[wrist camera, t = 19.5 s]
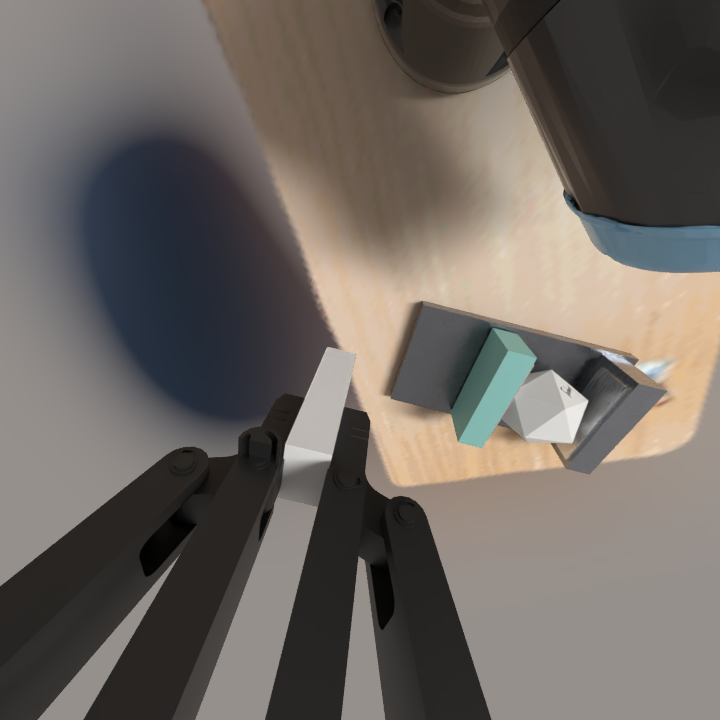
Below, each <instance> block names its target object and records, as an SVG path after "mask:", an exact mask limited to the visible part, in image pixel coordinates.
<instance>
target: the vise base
mask: <svg viewBox="0 0 720 720" xmlns="http://www.w3.org/2000/svg"><path fill="white" fill-rule="evenodd" d="M492 328H496V329H500V330H504V331H507V332H511V333H515V334H518V335H519V337H520V338H521V339H522V340H523V341H524V343H525V344H526V345H527V346H528V348H529V349H530V350H531V351H532V352H533V354H534V355H535V356H536V357H537V359H536V361H535V362H534V367H533V368H532V370H531V372H530V373H535V372H541V371H546V370H553V371H554V372H555V373H556V374H557V375H559V376H560V377H561V378H562V379H563V380H565V381H566V382H567V383H568V384H569V385H571V386H572V387H573V388H574V389H575V390H576V391H578V392H579V393H580V394H581V395H582V396H584V397H585V398H586V399H587V400H588V403H587V406H586V409H585V411H584V414H583V416H582V419H581V422H580V424H579V427H578V430H577V432H576V435H575V438H574V440H573V443H551V445H552V446H553V448H554V450H555V451H556V453H557V455H558V456H559V458H560V460H561V461H562V463H563V465H564V466H565V468H566V469H570V470H574V471H578V472H582V473H586V474H590V473H591V472H592V471H593V470H594V469H595V468H596V467H597V466H598V465H599V464H600V463H601V461H602V460H603V459H604V458H605V457H606V456H607V455H608V454H609V453H610V452H611V451H612V450H613V449H614V448H615V446H616V445H617V444H618V443H619V442H620V441H621V440H622V439H623V438H624V437H625V436H626V435H627V434H628V433H629V432H630V430H631V429H632V428H633V427H634V426H635V425H636V424H637V423H638V422H639V421H640V420H641V419H642V418H643V417H644V416H645V414H646V413H647V412H648V411H649V410H650V409H651V408H652V407H653V406H654V405H655V404H656V403H657V402H658V401H659V399H660V398H661V397H662V396H663V395H664V394H665V393H666V392H667V390H665V389H664V388H663V387H661V386H660V385H659V384H658V383H656V382H655V381H654V380H652V379H651V378H650V377H648V376H647V375H646V374H644V373H643V372H642V371H640V370H639V369H638V368H636V367H635V366H634V365H635V364H636V363H637V362H638V360H639V359H637V358H636V357H634V356H633V355H632V354H630V353H626V352H622V351H618V350H614V349H610V348H606V347H602V346H599V345H595V344H591V343H587V342H583V341H579V340H575V339H571V338H567V337H563V336H559V335H555V334H551V333H547V332H544V331H540V330H536V329H532V328H528V327H524V326H520V325H516V324H512V323H508V322H504V321H500V320H496V319H492V318H488V317H485V316H481V315H477V314H473V313H469V312H465V311H461V310H457V309H453V308H449V307H445V306H441V305H437V304H433V303H429V302H426V301H423V302H422V305H421V308H420V311H419V314H418V316H417V319H416V322H415V325H414V328H413V331H412V334H411V337H410V339H409V342H408V345H407V348H406V351H405V354H404V357H403V360H402V363H401V365H400V368H399V371H398V374H397V377H396V380H395V383H394V386H393V389H392V391H391V399H394V400H398V401H402V402H406V403H410V404H414V405H418V406H422V407H426V408H430V409H434V410H438V411H442V412H446V413H450V414H451V410H452V408H453V406H454V404H455V402H456V400H457V398H458V396H459V394H460V392H461V390H462V388H463V386H464V384H465V382H466V380H467V378H468V376H469V374H470V372H471V370H472V368H473V366H474V364H475V362H476V360H477V358H478V356H479V354H480V352H481V350H482V348H483V346H484V344H485V342H486V340H487V338H488V336H489V334H490V332H491V330H492ZM498 425H499V426H503V427H507V428H511V427H510V426H509V425H507V424H506V423H505V422H504V421H503V420H502V419H501V420H500V422H499V423H498ZM511 429H512V428H511Z"/></svg>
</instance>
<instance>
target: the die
mask: <svg viewBox="0 0 720 720" xmlns="http://www.w3.org/2000/svg"><path fill="white" fill-rule="evenodd" d="M587 403H588V400H587V399H586V398H585V397H584V396H582V395H581V394H580V393H579V392H578V391H576V390H575V389H574V388H573V387H572V386H571V385H569V384H568V383H567V382H566V381H565V380H563V379H562V378H561V377H560V376H559V375H557V374H556V373H555V372H554V371H553V370H546V371H541V372H535V373H529V375H528V376H527V378H526V380H525V381H524V383H523V384H522V386H521V388H520V389H519V391H518V393H517V394H516V396H515V397H514V399H513V401H512V402H511V404H510V406H509V407H508V409H507V410H506V412H505V414H504V415H503V417H502V418H501V419H502V420H503V421H504V422H505V423H506V424H507V425H509V426H510V427H511V428H512V429H513V430H514V431H515V432H516V433H518V434H519V435H520V436H521V437H522V438H523V439H524V440H525V441H527V442H534V443H573V440H574V438H575V435H576V432H577V430H578V427H579V424H580V422H581V419H582V416H583V414H584V411H585V409H586V406H587Z"/></svg>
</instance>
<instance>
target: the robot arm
mask: <svg viewBox="0 0 720 720" xmlns="http://www.w3.org/2000/svg"><path fill="white" fill-rule="evenodd" d="M373 5H374V11H375V15H376V19H377V23H378V26H379V29H380V32H381V35H382V37H383V39H384V42H385V44H386V46H387V48H388V50H389V52H390V53H391V55H392V56H393V58H394V59H395V61H396V62H397V64H398V65H399V66H400V67H401V68H402V70H403V71H404V72H405V73H406V74H407V75H409V76H410V77H411V78H412V79H414V80H415V81H417V82H418V83H420V84H421V85H423V86H425V87H428V88H430V89H433V90H436V91H441V92H447V93H459V92H467V91H471V90H475V89H478V88H481V87H483V86H486V85H488V84H490V83H492V82H494V81H495V80H497V79H499V78H500V77H502V76H503V75H505V74H506V73H507V72H509V71H510V70H512V72H513V74H514V77H515V79H516V81H517V83H518V86H519V88H520V90H521V92H522V95H523V97H524V99H525V101H526V104H527V106H528V108H529V110H530V113H531V115H532V117H533V119H534V122H535V124H536V126H537V128H538V131H539V133H540V135H541V137H542V140H543V142H544V144H545V146H546V149H547V151H548V153H549V155H550V158H551V160H552V162H553V164H554V167H555V169H556V171H557V173H558V176H559V178H560V180H561V182H562V185H563V187H564V192H563V196H564V198H565V201H566V204H567V205H568V206H569V208H570V209H571V210H572V211H573V212H574V213H575V214H576V215H577V216H579V218H580V220H581V222H582V224H583V226H584V228H585V230H586V232H587V234H588V236H589V237H590V239H591V241H592V243H593V244H594V246H595V247H596V248H597V249H598V250H599V251H600V252H601V253H603V254H605V255H608V256H609V257H611V258H612V259H614V260H615V261H617V262H620V263H621V264H623V265H626V266H630V267H634V268H638V269H643V270H649V271H657V272H669V273H703V272H720V0H373ZM356 355H357V354H354V353H350V352H346V351H342V350H338V349H334V348H330V347H327V349H326V351H325V354H324V356H323V358H322V360H321V363H320V365H319V367H318V370H317V372H316V374H315V377H314V379H313V381H312V384H311V386H310V388H309V390H308V393H307V395H306V397H305V398H302V397H298V396H294V395H290V394H286V393H285V394H284V395H282V396H281V397H279V398H278V399H276V401H275V403H274V404H273V406H272V408H271V410H270V412H269V413H268V415H267V417H266V419H265V420H264V422H263V424H262V426H261V427H254V428H250V429H248V430H246V431H245V432H243V433H242V434H241V435H240V436H239V445H238V449H239V450H238V454H237V455H234V456H229V457H214V458H208V455H207V453H206V452H204V451H203V450H202V449H199V448H196V447H183V448H180V449H176V450H174V451H172V452H171V453H169V454H167V455H166V456H164V457H163V458H162V459H161V460H159V461H158V462H157V463H156V464H154V465H153V466H152V467H151V468H149V469H148V470H147V471H145V472H144V473H143V474H142V475H140V476H139V477H138V478H137V479H135V480H134V481H133V482H131V483H130V484H129V485H128V486H127V487H125V488H124V489H123V490H121V491H120V492H119V493H118V494H116V495H115V496H114V497H113V498H111V499H110V500H109V501H108V502H106V503H105V504H104V505H102V506H101V507H100V508H99V509H97V510H96V511H95V512H94V513H92V514H91V515H90V516H89V517H87V518H86V519H85V520H83V521H82V522H81V523H80V524H78V525H77V526H76V527H75V528H73V529H72V530H71V531H70V532H68V533H67V534H66V535H65V536H63V537H62V538H61V539H59V540H58V541H57V542H56V543H55V544H53V545H52V546H51V547H49V548H48V549H47V550H46V551H44V552H43V553H42V554H41V555H39V556H38V557H37V558H35V559H34V560H33V561H32V562H30V563H29V564H28V565H27V566H25V567H24V568H23V569H22V570H21V571H19V572H18V573H17V574H15V575H14V576H13V577H11V578H10V579H9V580H8V581H7V582H5V583H4V584H3V585H1V586H0V720H37V719H38V718H39V717H40V716H41V715H42V714H43V713H44V711H45V710H46V709H47V708H48V707H49V706H50V704H51V703H52V702H53V701H54V700H55V699H56V697H57V696H58V695H59V694H60V693H61V692H62V690H63V689H64V688H65V687H66V686H67V685H68V683H69V682H70V681H71V680H72V679H73V678H74V677H75V675H76V674H77V673H78V672H79V671H80V670H81V668H82V667H83V666H84V665H85V664H86V663H87V662H88V660H89V659H90V658H91V656H93V655H94V653H95V652H96V651H97V650H98V649H99V648H100V646H101V645H102V644H103V643H104V642H105V641H106V639H107V638H108V637H109V636H110V635H111V634H112V632H113V631H114V630H115V629H116V628H117V627H118V625H119V624H120V623H121V622H122V621H123V620H124V618H125V617H126V616H127V615H128V614H129V613H130V612H131V610H132V609H133V608H134V607H135V606H136V605H137V603H138V602H139V601H140V600H141V599H142V598H143V596H144V595H145V594H146V593H147V592H148V591H149V590H150V588H151V587H152V586H153V585H154V584H155V582H156V581H157V580H158V579H159V578H160V577H161V576H162V574H163V573H164V572H165V571H166V570H167V569H168V567H169V566H170V565H171V564H172V563H173V562H174V561H175V559H176V558H177V557H178V556H179V555H180V556H179V558H178V559H177V561H176V563H175V564H174V566H173V568H172V570H171V571H170V573H169V575H168V576H167V578H166V580H165V581H164V583H163V585H162V587H161V588H160V590H159V592H158V593H157V595H156V597H155V599H154V600H153V602H152V604H151V606H150V607H149V609H148V610H147V612H146V614H145V616H144V617H143V619H142V621H141V622H140V625H139V626H138V628H137V629H136V631H135V633H134V635H133V636H132V638H131V639H130V641H129V643H128V645H127V646H126V648H125V650H124V651H123V653H122V655H121V657H120V658H119V660H118V662H117V664H116V665H115V667H114V669H113V670H112V672H111V674H110V675H109V677H108V679H107V681H106V682H105V684H104V686H103V688H102V689H101V691H100V693H99V694H98V696H97V698H96V699H95V701H94V703H93V704H92V706H91V708H90V710H89V711H88V713H87V715H86V716H85V718H84V720H195V719H196V716H197V713H198V710H199V708H200V705H201V702H202V700H203V697H204V695H205V692H206V689H207V687H208V684H209V681H210V679H211V676H212V673H213V671H214V668H215V665H216V663H217V660H218V657H219V655H220V652H221V650H222V647H223V644H224V642H225V639H226V636H227V634H228V631H229V628H230V625H231V623H232V620H233V618H234V615H235V612H236V610H237V607H238V604H239V602H240V599H241V596H242V594H243V591H244V588H245V586H246V583H247V580H248V578H249V575H250V572H251V570H252V567H253V564H254V562H255V559H256V556H257V554H258V551H259V549H260V545H261V543H262V540H263V538H264V535H265V533H266V530H267V527H268V525H269V522H270V519H271V516H272V514H273V509H274V503H275V500H276V498H277V495H278V493H279V496H278V497H279V498H284V499H287V500H291V501H296V502H300V503H304V504H308V505H312V506H317V507H318V509H317V513H316V518H315V521H314V525H313V529H312V533H311V537H310V541H309V545H308V549H307V553H306V558H305V561H304V565H303V570H302V573H301V577H300V581H299V585H298V589H297V593H296V598H295V601H294V605H293V609H292V613H291V618H290V622H289V626H288V630H287V634H286V638H285V642H284V646H283V650H282V654H281V658H280V662H279V666H278V670H277V674H276V678H275V682H274V686H273V690H272V694H271V698H270V702H269V706H268V710H267V714H266V718H265V720H341V715H342V705H343V696H344V687H345V677H346V667H347V658H348V649H349V639H350V630H351V621H352V611H353V602H354V592H355V583H356V574H357V563H358V556H359V557H361V558H362V559H364V560H365V564H366V572H367V580H368V587H369V595H370V603H371V611H372V618H373V626H374V634H375V642H376V650H377V657H378V665H379V673H380V681H381V689H382V696H383V704H384V712H385V720H491V717H490V714H489V711H488V708H487V705H486V701H485V698H484V695H483V692H482V689H481V686H480V683H479V680H478V676H477V673H476V670H475V667H474V664H473V661H472V657H471V654H470V651H469V648H468V645H467V642H466V639H465V636H464V632H463V629H462V626H461V623H460V620H459V617H458V614H457V611H456V608H455V604H454V601H453V598H452V595H451V592H450V589H449V586H448V582H447V579H446V576H445V573H444V570H443V567H442V564H441V561H440V558H439V554H438V551H437V548H436V545H435V542H434V539H433V535H432V532H431V529H430V526H429V523H428V520H427V517H426V515H425V512H424V510H423V509H422V508H421V506H420V505H419V504H418V503H417V502H416V501H414V500H412V499H410V498H409V497H404V496H398V497H393V498H392V499H391V500H390V499H388V498H387V497H385V496H383V495H382V494H380V493H378V492H377V491H375V490H374V489H373V488H372V487H371V485H370V484H369V483H368V481H367V479H366V475H365V466H366V457H367V448H368V438H369V430H370V420H369V417H368V415H367V412H363V411H359V410H354V409H350V408H346V407H344V404H345V400H346V396H347V392H348V388H349V384H350V380H351V375H352V371H353V367H354V363H355V359H356Z"/></svg>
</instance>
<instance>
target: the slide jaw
mask: <svg viewBox="0 0 720 720" xmlns="http://www.w3.org/2000/svg"><path fill="white" fill-rule="evenodd" d="M536 359H537V357H536V356H535V355H534V354H533V352H532V351H531V350H530V349H529V348H528V346H527V345H526V344H525V343H524V341H523V340H522V339H521V338H520V337H519V335H518V334H515V333H511V332H507V331H504V330H500V329H496V328H492V330H491V332H490V334H489V336H488V338H487V340H486V342H485V344H484V346H483V348H482V350H481V352H480V354H479V356H478V358H477V360H476V362H475V364H474V366H473V368H472V370H471V372H470V374H469V376H468V378H467V380H466V382H465V384H464V386H463V388H462V390H461V392H460V394H459V396H458V398H457V400H456V402H455V404H454V406H453V408H452V410H451V415H452V419H453V423H454V427H455V431H456V436H457V440H458V442H459V443H463V444H468V445H472V446H476V447H480V448H482V447H483V445H484V444H485V442H486V441H488V439H489V438H490V436H491V435H492V433H493V431H494V430H495V428H496V427H497V425H498V423H499V422H500V420H501V418H502V417H503V415H504V414H505V412H506V410H507V409H508V407H509V406H510V404H511V402H512V401H513V399H514V397H515V396H516V394H517V393H518V391H519V389H520V388H521V386H522V384H523V383H524V381H525V380H526V378H527V376H528V375H529V373H530V372H531V370H532V368H533V367H534V362H535V361H536Z"/></svg>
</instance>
